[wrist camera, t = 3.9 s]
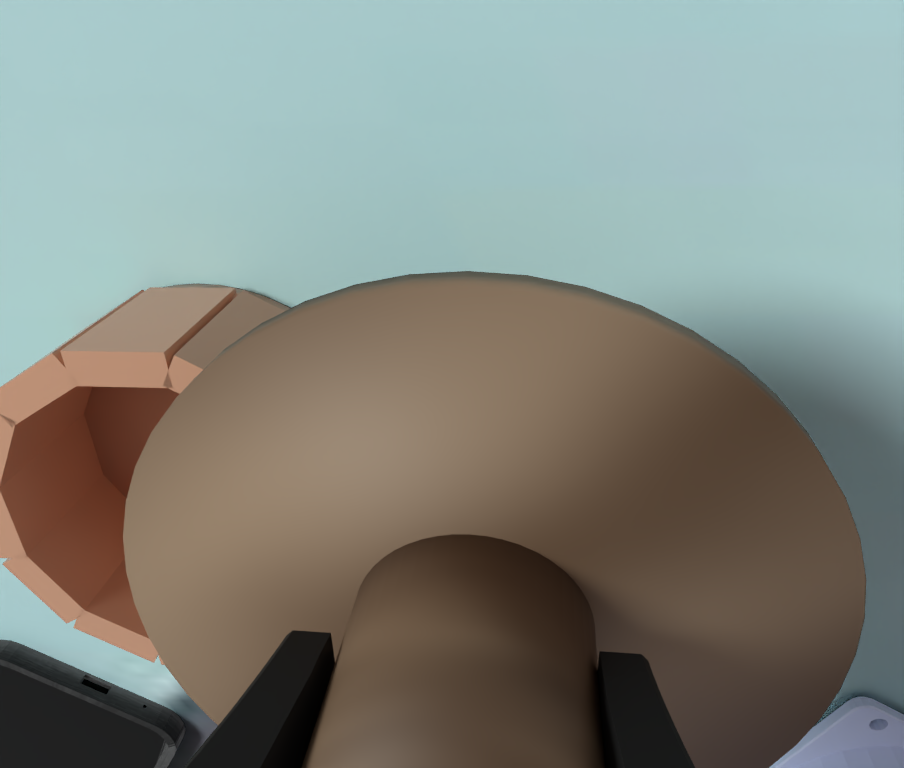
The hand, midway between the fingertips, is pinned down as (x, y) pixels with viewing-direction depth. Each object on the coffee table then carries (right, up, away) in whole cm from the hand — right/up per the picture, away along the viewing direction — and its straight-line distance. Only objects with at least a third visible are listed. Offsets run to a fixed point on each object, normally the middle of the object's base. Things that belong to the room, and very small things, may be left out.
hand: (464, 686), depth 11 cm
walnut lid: (0, +1, +1) cm, 2 cm away
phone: (-17, -11, +18) cm, 27 cm away
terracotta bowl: (-6, +3, +9) cm, 11 cm away
